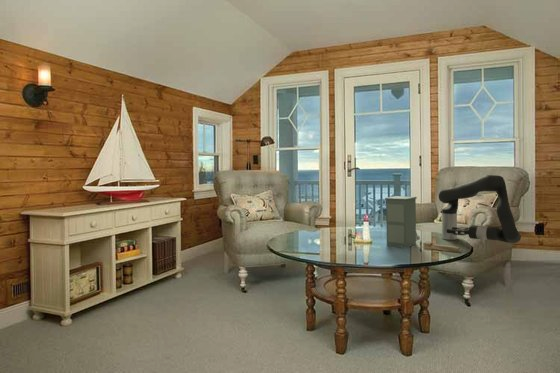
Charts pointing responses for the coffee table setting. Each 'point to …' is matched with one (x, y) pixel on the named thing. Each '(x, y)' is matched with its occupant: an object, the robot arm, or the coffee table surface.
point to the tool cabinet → (401, 221)
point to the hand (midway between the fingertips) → (449, 230)
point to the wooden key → (440, 247)
